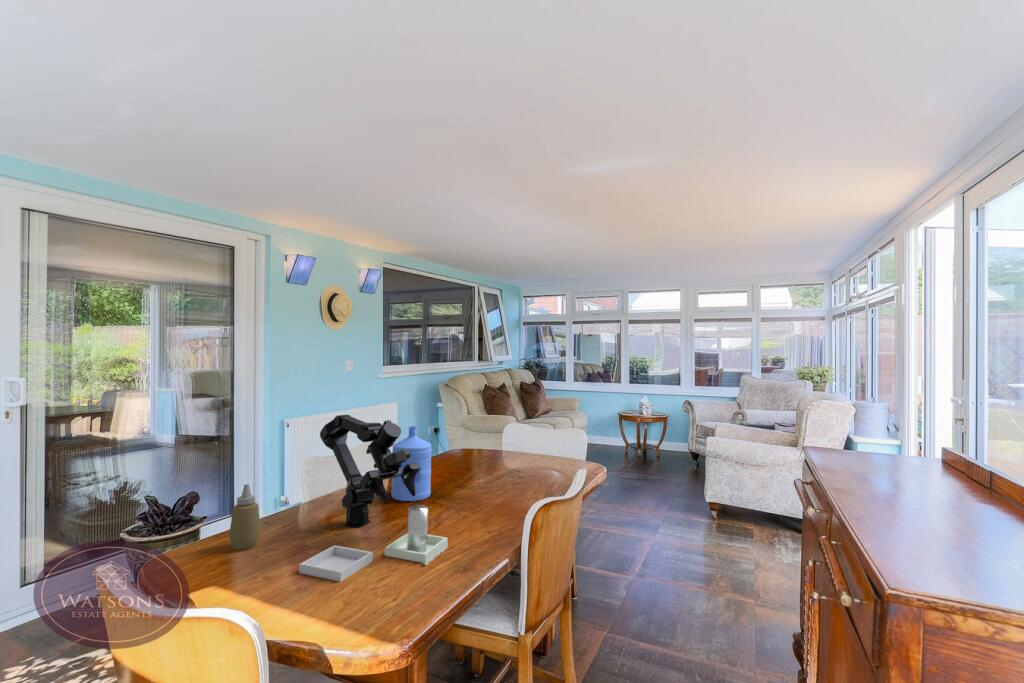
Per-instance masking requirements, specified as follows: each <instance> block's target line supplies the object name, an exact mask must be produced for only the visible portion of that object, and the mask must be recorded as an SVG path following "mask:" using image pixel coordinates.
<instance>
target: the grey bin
mask: <svg viewBox="0 0 1024 683" xmlns="http://www.w3.org/2000/svg"><path fill="white" fill-rule="evenodd" d="M373 560H374V552H373V551H368V550H362V549H357V548H352V547H346V546H341V545H335V544H334V545H332V546H330V547H328V548H326V549H324V550H323V551H321V552H319V553H317V554H315V555H313V556H311V557H310V558H308V559H305V561H302V562H300V563H299V568H298V573H299V574H302V575H303V574H304V575H307V576H312V577H316V578H321V579H326V580H331V581H335V582H342V581H344V580H345V579H347V578H349V577H351V576H352V575H353V574H355V573H357V572H358V571H360V570H361V569H362V568H364V567H365V566H367V565H369V564H371V563H372V562H373Z"/></svg>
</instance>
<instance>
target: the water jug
mask: <svg viewBox="0 0 1024 683" xmlns="http://www.w3.org/2000/svg"><path fill="white" fill-rule="evenodd" d="M417 428H418V426H413V425H412V426H408V436H407V437H406V438H404V439H401V440H399V441H397V442H395V443H394V444H393V446H392V451H391V453H395V452H400V451H401V450H403V449H408V451H409V452H410V458H409V459H407V461H406V462H403V463H401V464H402V466H401V467H400V468H399V470H402V469H404V467H405V466H406V465H407V464H411V463H418V464H419V466H420V468H421V469H420V470H419V472H418V473H417V474H416V476H415V493H416V495H415V496H414V497H413V496H412V495H411V494H410V492H409V491H408V489H407V488H406V486H405V485H404V483H403V481H404V480H403V479H402V478H401V476H399V477H394V478H391V491H390V493H391V495H390V496H391V498H392V499H394V500H396V501H398V500H399V501H400V502H406V501H410V502H418V500H419V501H424V500H426V499H427V498H429V497H430V496H431V493H432V492H431V491H432V489H431V478H432V477H431V475H432V454H433V452H432V451H433V450H432V444H431V442H429V441H426V440H424V439H422V438H420V437H418V436H417V433H418V432H417Z"/></svg>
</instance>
